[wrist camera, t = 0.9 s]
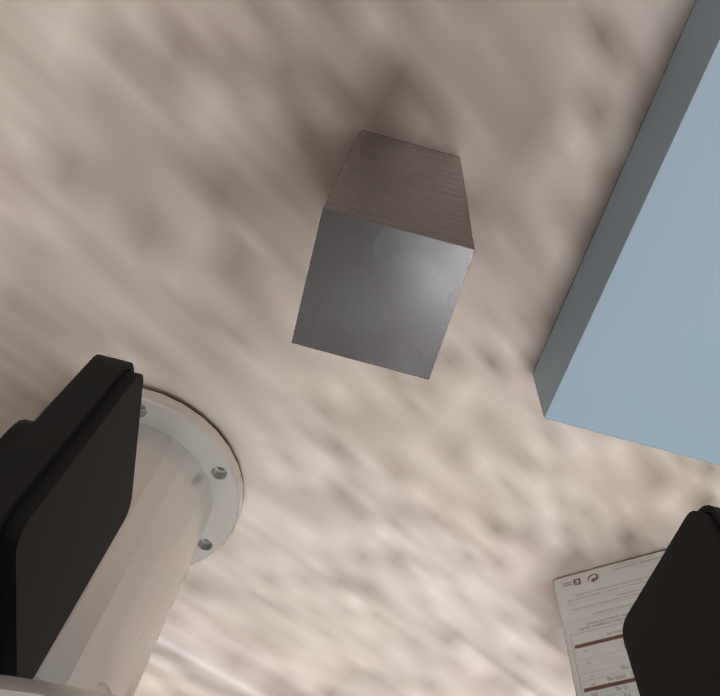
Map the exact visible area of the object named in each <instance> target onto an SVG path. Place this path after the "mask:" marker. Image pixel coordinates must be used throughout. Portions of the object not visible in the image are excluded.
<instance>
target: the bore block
mask: <svg viewBox="0 0 720 696" xmlns="http://www.w3.org/2000/svg"><path fill="white" fill-rule="evenodd" d="M533 377H534V381H535V384H536V388H537V392H538V396H539V400H540V404H541V408H542V412H543V415H544V418H545V419H549V420H553V421H556V422H560V423H564V424H568V425H571V426H575V427H579V428H582V429H586V430H590V431H594V432H597V433H601V434H605V435H608V436H612V437H616V438H620V439H623V440H627V441H631V442H635V443H638V444H642V445H646V446H649V447H653V448H657V449H661V450H664V451H668V452H672V453H675V454H679V455H683V456H687V457H690V458H694V459H698V460H701V461H705V462H709V463H713V464H716V465H720V0H696V2H695V5H694V7H693V9H692V11H691V14H690V16H689V18H688V21H687V23H686V25H685V27H684V30H683V32H682V34H681V37H680V39H679V41H678V43H677V46H676V48H675V50H674V53H673V55H672V57H671V59H670V62H669V64H668V66H667V69H666V71H665V73H664V75H663V78H662V80H661V82H660V85H659V87H658V89H657V91H656V94H655V96H654V98H653V101H652V103H651V105H650V107H649V110H648V112H647V114H646V117H645V119H644V121H643V123H642V126H641V128H640V130H639V133H638V135H637V137H636V139H635V142H634V144H633V146H632V149H631V151H630V153H629V155H628V158H627V160H626V162H625V165H624V167H623V169H622V171H621V174H620V176H619V178H618V181H617V183H616V185H615V187H614V190H613V192H612V194H611V197H610V199H609V201H608V203H607V206H606V208H605V210H604V213H603V215H602V217H601V219H600V222H599V224H598V226H597V229H596V231H595V233H594V235H593V238H592V240H591V242H590V245H589V247H588V249H587V251H586V254H585V256H584V258H583V261H582V263H581V265H580V267H579V270H578V272H577V274H576V277H575V279H574V281H573V283H572V286H571V288H570V290H569V293H568V295H567V297H566V299H565V302H564V304H563V306H562V309H561V311H560V313H559V315H558V318H557V320H556V322H555V325H554V327H553V329H552V331H551V334H550V336H549V338H548V341H547V343H546V345H545V347H544V350H543V352H542V354H541V357H540V359H539V361H538V363H537V366H536V368H535V370H534V373H533Z"/></svg>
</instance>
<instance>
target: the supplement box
mask: <svg viewBox="0 0 720 696" xmlns="http://www.w3.org/2000/svg"><path fill="white" fill-rule="evenodd" d="M665 551H666V550H665ZM665 551H661V552H656V553H652V554H648V555H645V556H641V557H637V558H633V559H629V560H625V561H622V562H618V563H614V564H610V565H606V566H603V567H599V568H595V569H591V570H587V571H584V572H580V573H576V574H573V575H569V576H565V577H562V578H559V579H556V580H554V588H555V593H556V598H557V603H558V607H559V612H560V616H561V621H562V626H563V631H564V636H565V641H566V646H567V651H568V656H569V661H570V666H571V671H572V676H573V681H574V686H575V691H576V696H640V694H639V691H638V688H637V684H636V681H635V678H634V674H633V671H632V668H631V664H630V661H629V657H628V654H627V651H626V647H625V644H624V640H623V624H624V620H625V618H626V616H627V614H628V612H629V611H630V609H631V607H632V606H633V604H634V602H635V601H636V599H637V597H638V596H639V594H640V592H641V591H642V589H643V587H644V586H645V584H646V582H647V581H648V579H649V577H650V576H651V574H652V573H653V571H654V569H655V568H656V566H657V564H658V563H659V561H660V559H661V558H662V556H663V554H664V553H665Z"/></svg>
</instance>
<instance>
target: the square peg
mask: <svg viewBox="0 0 720 696" xmlns="http://www.w3.org/2000/svg"><path fill="white" fill-rule="evenodd" d="M473 253H474V243H473V237H472V231H471V224H470V218H469V212H468V205H467V199H466V193H465V186H464V180H463V173H462V167H461V161H460V157H457V156H453V155H450V154H446V153H443V152H439V151H436V150H432V149H428V148H425V147H421V146H418V145H414V144H411V143H407V142H404V141H400V140H396V139H393V138H389V137H386V136H382V135H379V134H375V133H372V132H368V131H364V130H362V131H361V133H360V135H359V137H358V139H357V141H356V143H355V145H354V147H353V149H352V151H351V153H350V155H349V157H348V159H347V161H346V163H345V165H344V167H343V169H342V171H341V173H340V175H339V177H338V179H337V181H336V183H335V185H334V187H333V189H332V191H331V193H330V195H329V197H328V199H327V201H326V203H325V205H324V207H323V211H322V215H321V219H320V223H319V228H318V232H317V236H316V241H315V245H314V249H313V253H312V258H311V262H310V266H309V271H308V275H307V279H306V283H305V288H304V292H303V296H302V301H301V305H300V309H299V313H298V318H297V322H296V326H295V330H294V335H293V339H292V343H294V344H298V345H302V346H306V347H309V348H313V349H317V350H320V351H324V352H328V353H332V354H335V355H339V356H343V357H346V358H350V359H354V360H358V361H361V362H365V363H369V364H372V365H376V366H380V367H384V368H387V369H391V370H395V371H398V372H402V373H406V374H410V375H413V376H417V377H421V378H424V379H428V380H429V378H430V375H431V372H432V369H433V366H434V363H435V361H436V358H437V355H438V352H439V349H440V346H441V344H442V341H443V338H444V335H445V332H446V330H447V327H448V324H449V321H450V318H451V315H452V313H453V310H454V307H455V304H456V301H457V298H458V296H459V293H460V290H461V287H462V284H463V281H464V279H465V276H466V273H467V270H468V267H469V264H470V262H471V259H472V256H473Z"/></svg>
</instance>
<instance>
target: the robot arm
mask: <svg viewBox="0 0 720 696" xmlns="http://www.w3.org/2000/svg"><path fill="white" fill-rule="evenodd" d="M242 502H243V481H242V477H241V473H240V470H239V466H238V463H237V461H236V459H235V457H234V455H233V453H232V451H231V449H230V447H229V446H228V445H227V443H226V442H225V441H224V439H223V438H222V437H221V435H220V434H219V433H218V432H217V431H216V430H215V429H214V428H213V427H212V426H211V425H210V424H209V423H208V422H207V421H206V420H205V419H204V418H203V417H202V416H200V415H199V414H197V413H196V412H194V411H193V410H191V409H190V408H188V407H187V406H185V405H184V404H182V403H180V402H178V401H176V400H174V399H172V398H170V397H168V396H166V395H163V394H160V393H157V392H154V391H151V390H147V389H144V388H143V375H142V374H139V373H135V372H134V367H133V364H132V363H131V362H127V361H123V360H119V359H115V358H111V357H107V356H103V355H96V356H94V357H93V358H92V359H91V360H90V361H89V363H88V364H87V365H86V366H85V367H84V368H83V369H82V370H81V371H80V372H79V373H78V374H77V376H76V377H75V378H74V379H73V380H72V381H71V382H70V383H69V384H68V385H67V386H66V387H65V389H64V390H63V391H62V392H61V393H60V394H59V395H58V396H57V397H56V398H55V399H54V401H53V402H52V403H51V404H50V405H49V406H48V407H47V408H46V409H45V410H44V411H43V412H42V413H41V414H40V416H39V417H38V418H37V419H36V420H35V421H34V422H33V421H29V420H25V419H24V420H20V421H18V422H17V423H15V424H14V425H13V426H12V427H11V428H10V429H9V430H8V431H7V432H6V433H5V434H4V435H3V436H2V437H1V438H0V696H134V694H135V692H136V689H137V687H138V685H139V682H140V680H141V678H142V675H143V673H144V671H145V668H146V666H147V663H148V661H149V659H150V656H151V654H152V652H153V649H154V647H155V645H156V642H157V640H158V637H159V635H160V633H161V630H162V628H163V626H164V623H165V621H166V618H167V616H168V614H169V611H170V609H171V607H172V604H173V602H174V600H175V597H176V595H177V592H178V590H179V588H180V585H181V583H182V581H183V578H184V576H185V574H186V571H187V569H188V566H189V565H190V564H193V563H196V562H199V561H201V560H202V559H204V558H206V557H208V556H210V555H211V554H213V553H214V552H215V551H216V550H217V549H219V548H220V547H221V546H222V545H223V544H224V543H225V542H226V540H227V539H228V537H229V536H230V534H231V533H232V531H233V530H234V527H235V525H236V522H237V520H238V517H239V515H240V511H241V506H242ZM623 640H624V644H625V647H626V651H627V654H628V657H629V661H630V664H631V668H632V671H633V674H634V678H635V681H636V684H637V688H638V691H639V694H640V696H720V508H718V507H714V506H710V505H707V506H703V507H702V508H700V509H699V510H698V511H692V512H690V513H689V514H688V515H687V516H686V518H685V519H684V521H683V523H682V524H681V526H680V528H679V529H678V531H677V533H676V534H675V536H674V538H673V539H672V541H671V543H670V544H669V546H668V548H667V549H666V551H665V553H664V554H663V556H662V558H661V559H660V561H659V563H658V564H657V566H656V568H655V569H654V571H653V573H652V574H651V576H650V577H649V579H648V581H647V582H646V584H645V586H644V587H643V589H642V591H641V592H640V594H639V596H638V597H637V599H636V601H635V602H634V604H633V606H632V607H631V609H630V611H629V612H628V614H627V616H626V618H625V620H624V624H623Z"/></svg>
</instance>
